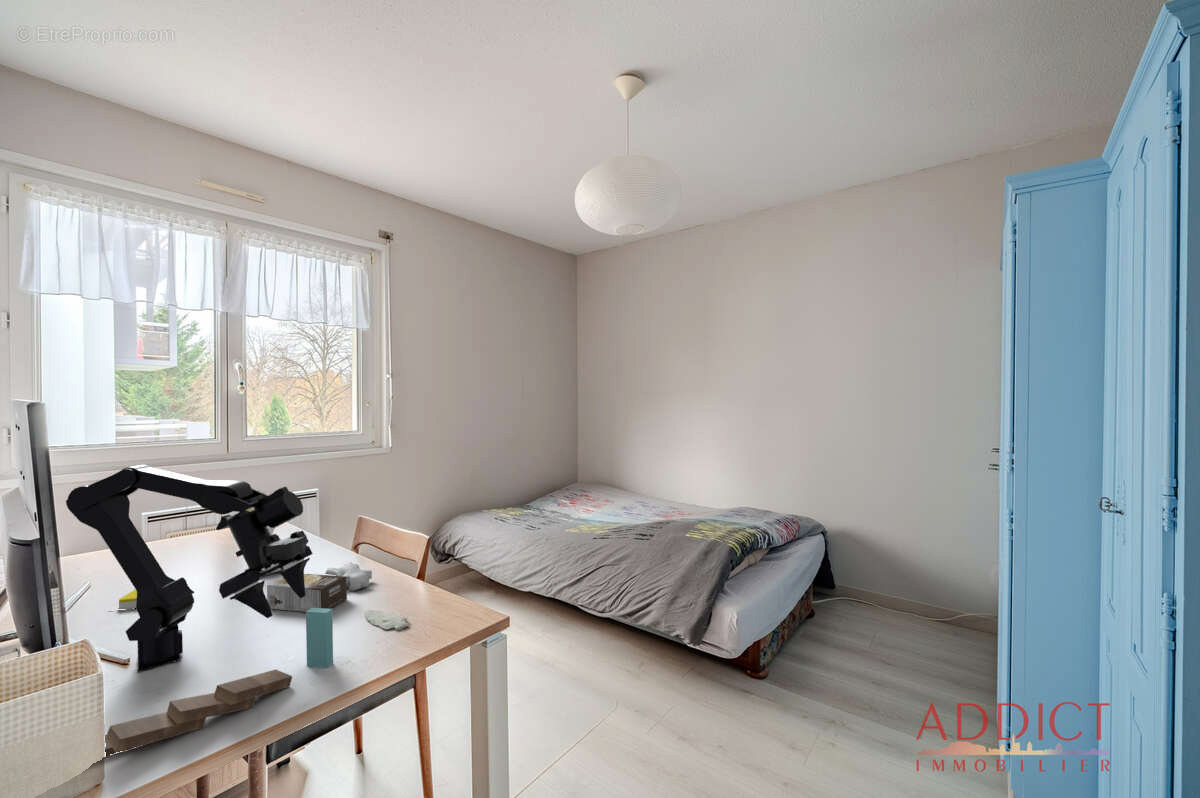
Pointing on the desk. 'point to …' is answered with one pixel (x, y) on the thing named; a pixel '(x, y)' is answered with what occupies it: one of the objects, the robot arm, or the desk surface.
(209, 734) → the desk surface
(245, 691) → the domino
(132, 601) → the emergency button
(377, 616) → the stone tool
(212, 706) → the domino
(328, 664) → the teal domino
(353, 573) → the bunny figurine
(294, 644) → the desk surface
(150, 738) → the domino
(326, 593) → the coffee box
